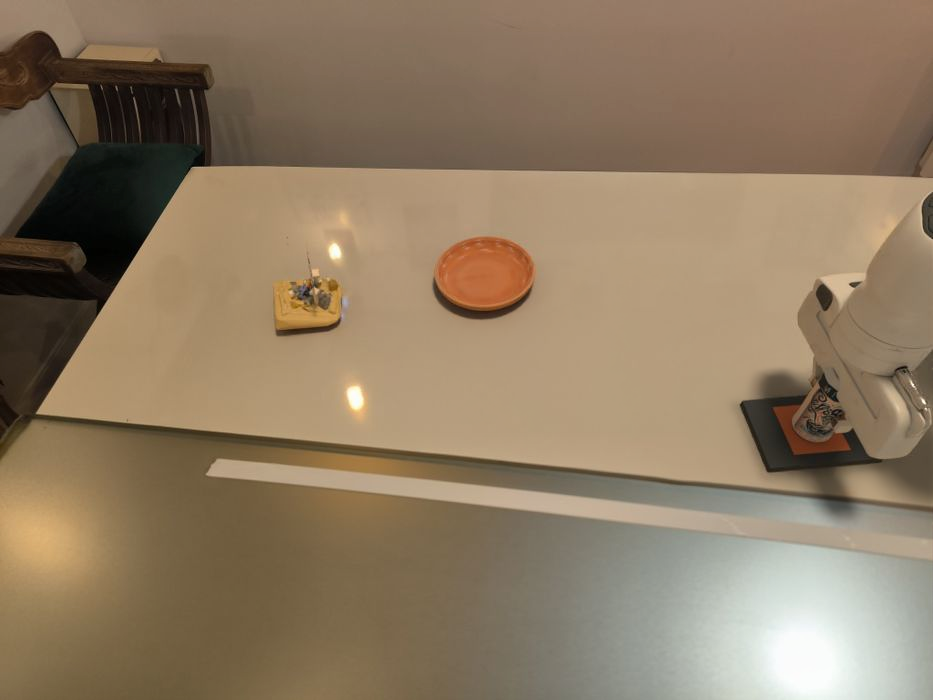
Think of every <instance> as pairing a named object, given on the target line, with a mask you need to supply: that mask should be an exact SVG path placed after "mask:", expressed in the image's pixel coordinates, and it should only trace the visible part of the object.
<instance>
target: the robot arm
mask: <svg viewBox="0 0 933 700" xmlns="http://www.w3.org/2000/svg"><path fill="white" fill-rule="evenodd" d="M796 321H797V326H798V328H799V329H800V331H801V333H802V335H803V337H804V338H805V340H806V342H807V344H808V346H809V349H810V350H811V351H812V354H813V357H812V374H811V375H810V376H809V378H808V382H809V384H810V386H811V387H812V389H813V387H814V386H815V384H816V383H817V381H818V380H819V378H820V377H821V375H822V374H823V372H825V369H826V367H827V368H833V370H834V372H835V374H836V376H837V378H839V382H840V383H839V391H838V392H837V399H838V400H839V402H840V404H841V406H842V408H843V410H844V412H845V414H844V415H834V417H833V418H832V420H831V421H830V423H831V425H832V427H833V429H834V431H835V433H845V432H848V431H850V430H851V429H852V428H854V430H855V432H856V434H857V436H858V438H859V440H860V442H861V443H862V445H863V447H864V449H865V451H866V453H867V454H868V455H869V456H870V457H873V458H877V459H883V460H889V459H890V460H891V459H897V458H898V459H899V458H904V457H907V456H908V455H909V454H910V453H911V452H912V451H913V450H914V449H915V448H916V446H917V445H918V444H919V442H920V441H921V439H922V438H923V436H924V435H925V433H926V432H927V431H928V430H929V429H930V428H931V425H932V411H931V408H930V407H931V404H930V401H929V400H928V397H927V396H926V395H925V394H924V393H923V392H922V390H921V389H920V387H919V385H918V383H917V380H916V379H915V378H914V376H913V375H912V372H913V371H914V370H916V369H917V368H918V367H919V366H920V365H921V364H922V362H923V361H924V360H925V359H926V358H927V357H928V356H929V355H930V353H931V352H932V351H933V190H931V191H930V192H928V193H926V195H924V196H923V197H921V199H920V200H919V201H918V202H917V203H916V204H915V205H914V206H913V207H912V208H911V209H910V210H909V211H908V212H907V213H906V214H905V215H904V216H903V217H902V219H901V220H900V221H899V222H898V223H897V224H896V226H895V227H894V228H893V229H892V231H891V232H890V233H889V234H888V236H887V237H886V238H885V240H884V241H883V243H882V244H881V245H880V247H879V248H878V250H877V251H876V253H875V254H874V256H873V257H872V259H871V260H870V262H869V263H868V266H867V268H866V271H862V272H861V271H860V272H859V271H858V272H843V273H836V274H835V273H834V274H828V275H823V276H818V277H817V278H816V279H815V281H814V283H813V286H812V290H811V291H809V292H808V294H807V295H806V297H805V298H804V299H803V301H802V303H801V305H800V307H799V308H798V311H797V320H796Z"/></svg>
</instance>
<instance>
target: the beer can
mask: <svg viewBox="0 0 933 700" xmlns="http://www.w3.org/2000/svg"><path fill="white" fill-rule="evenodd" d="M839 383H840V382H839V378H837V376H836V374H835V372H834V370H833V368H827V367H826V369H825V372H823V374H822V375H821V377H820V378H819V380H818V381H817V383H816V384H815V386H814V387H813V388H812V389H810V391H809V393H808V394H807V395H808V396H807V397H806V399H805V400H804V402H803V403H802V405H801V406H800V408H799V409H798V411H797V412H796V413H795V414H794V416H793V418H792V425H793V427H794V429H795V431H796V432H797V433H798V434H799V435H800V436H801V437H803V438H804V439H806V440H809V441H812V442H823V441H826V440H828V439H829V438H830V437H831V436H832V435H833V433H834V432H835V431H834V429H833V427H832V425H831V423H830V421H831V420H832V418H833V417H834V415H844V414H845V412H844V410H843V408H842V406H841V404H840V402H839V400H838V399H837V392H838V391H839Z"/></svg>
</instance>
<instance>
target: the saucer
mask: <svg viewBox="0 0 933 700" xmlns="http://www.w3.org/2000/svg"><path fill="white" fill-rule="evenodd" d="M535 265H536V264H535V262H534V259H533V258H532V256H531V254H530V253H529V252H528V251H527V250H526V249H525V248H524V247H523V246H521V245H520V244H519V243H516V242H514V241H513V240H510V239H507V238H503V237H498V236H491V235H489V236H488V235H485V236H474V237H469V238H466V239H463V240H461V241H458V242H456V243H455V244H452V245H451V246H450V247H448V248H447V249H446V250H444V252H442V254H441V255H440V256H439V258H438V259H437V261H436V263H435V267H434V273H433V274H434V281H435V284H436V286H437V288H438V291H439V292H440V293H441V295H442V296H443V297H444V298H445V299H447V300H448V301H449V302H450V303H453V305H456V306H458V307H460V308H463V309H467V310H472V311H477V312H479V311H480V312H490V311H497V310H501V309H503V308H507V307H509V306H511V305H513V304H515V303H517V302H519V301H520V300H521V299H523V298H524V297H525V296H526V295H527V294H528V292H529V291H530V290H531V288H532V286H533V284H534V282H535V277H536V266H535Z"/></svg>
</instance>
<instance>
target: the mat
mask: <svg viewBox="0 0 933 700" xmlns="http://www.w3.org/2000/svg"><path fill="white" fill-rule="evenodd" d="M807 396H808V394H801V395H791V396H790V395H789V396H780V397H770V398H769V397H768V398H756V399H755V398H754V399H744V400H741V402H740V407H741V410H742V413H743V414H744V417H745V420H746V422H747V425H748V427H749V429H750V432H751V434H752V437H753V439H754V442H755V444H756V446H757V449H758V451H759V453H760V456H761V459H762V461H763V463H764V466H765V468H766V471H767V472H768V473H771V472H780V471H781V472H783V471H795V470H806V469H817V468H818V469H819V468H828V467H829V468H830V467H842V466H851V465H864V464H874V463H875V464H876V463H881V462H883V460H884V459H877V458H873V457H870V456H869V455H868V454H867V453H866V451H865V449H864V447H863V445H862V443H861V442H860V440H859V438H858V436H857V434H856V432H855V430H854V428H852V429H851V430H850V431H848V432H845V433H835V432H834V433H833V435H832V436H831V437H830V438H829V439H828V440H826V441H823V442H812V441H809V440H806V439H804V438H803V437H801V436H800V435H799V434H798V433H797V432H796V431H795V429H794V427H793V425H792V418H793V416H794V414H795V413H796V412H797V411H798V409H799V408H800V406H801V405H802V403H803V402H804V400H805V399H806V397H807Z"/></svg>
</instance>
